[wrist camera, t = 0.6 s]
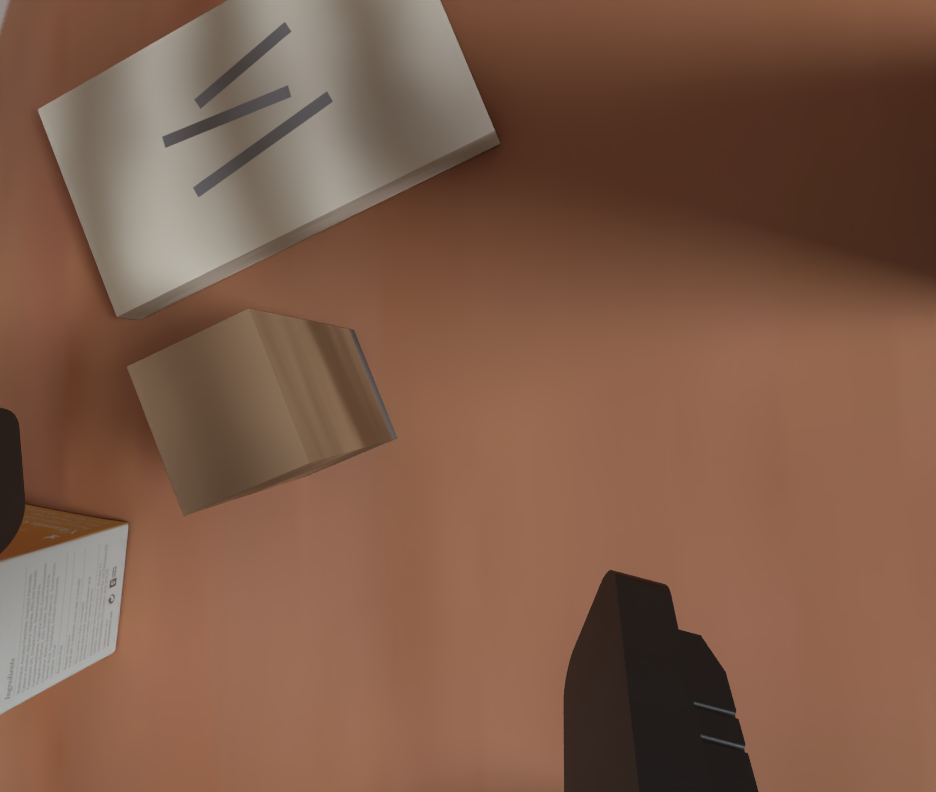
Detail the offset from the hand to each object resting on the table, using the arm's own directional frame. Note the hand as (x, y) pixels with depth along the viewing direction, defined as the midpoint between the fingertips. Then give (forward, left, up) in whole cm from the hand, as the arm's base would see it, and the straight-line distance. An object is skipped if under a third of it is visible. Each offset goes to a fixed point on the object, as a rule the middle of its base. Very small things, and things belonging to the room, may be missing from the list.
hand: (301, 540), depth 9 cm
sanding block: (+7, -4, -20) cm, 21 cm away
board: (+5, -16, -20) cm, 26 cm away
